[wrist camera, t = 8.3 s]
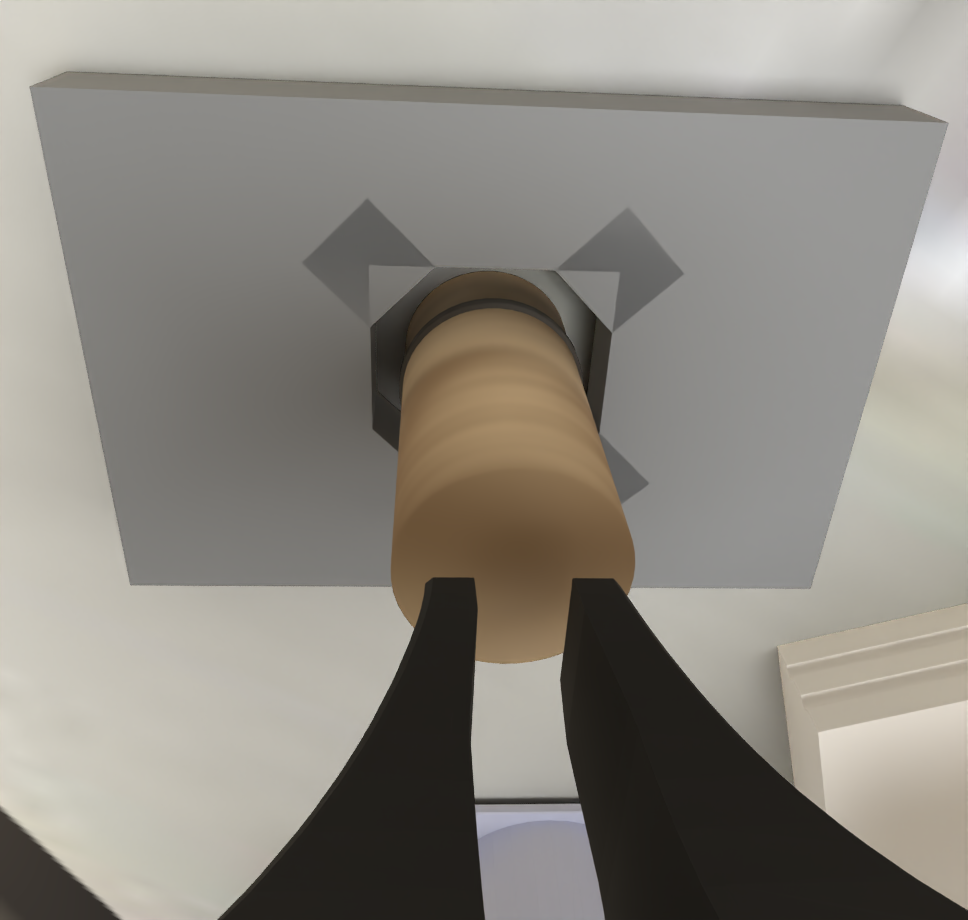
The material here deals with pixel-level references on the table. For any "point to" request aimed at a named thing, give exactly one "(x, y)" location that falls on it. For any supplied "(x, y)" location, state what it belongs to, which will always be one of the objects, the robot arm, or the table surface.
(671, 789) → the robot arm
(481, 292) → the oak peg
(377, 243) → the slate board
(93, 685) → the table surface
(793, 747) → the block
